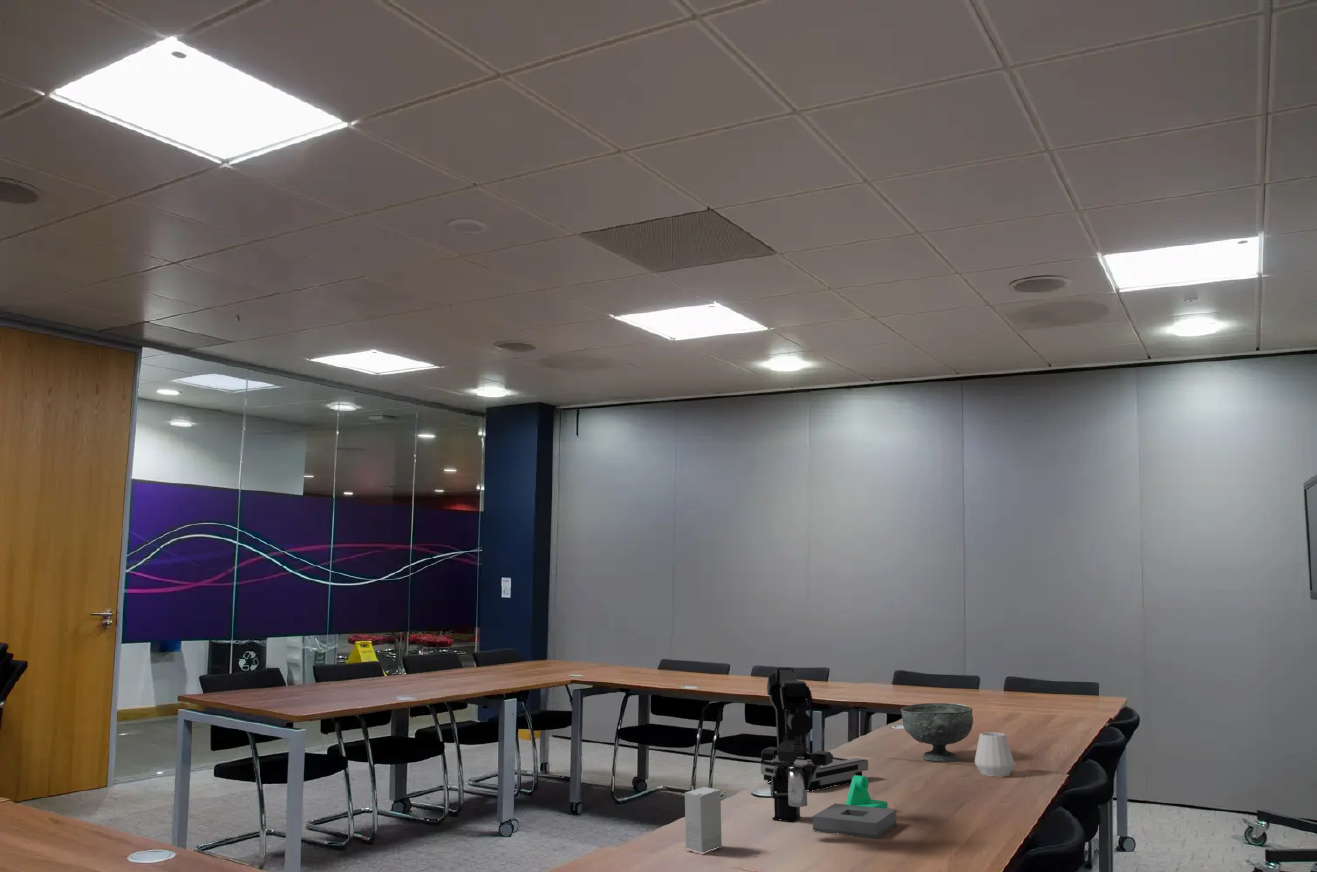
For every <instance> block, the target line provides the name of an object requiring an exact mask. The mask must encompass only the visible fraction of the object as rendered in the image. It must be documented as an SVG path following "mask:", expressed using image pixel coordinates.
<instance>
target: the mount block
mask: <svg viewBox="0 0 1317 872" xmlns="http://www.w3.org/2000/svg"><path fill="white" fill-rule="evenodd" d="M896 811H897V810H896V809H892V808H885V809H884V808H874V807H865V806H855V805H846V803H845V804H843V803H833V804H831V805H830V806H827V807H826V808H824V809H823V810H821V811H819V812H818V813H816V814H814V815H812V831H813V830H815V831H820V832H819V833H822V832H827V833H826V834H831V833H839V834H847V835H852V836H851V837H856V836H858V838H864V837H865V839H875V840H877V839H879V838H881V837H882V836H883V835H884V834H886V833H887V832H888V831H890V830H891V829H892V828H894V827H896V825H897V814H896ZM893 826H894V827H893ZM839 834H838V835H839ZM882 834H883V835H882ZM847 835H846V836H847ZM881 835H882V836H881Z"/></svg>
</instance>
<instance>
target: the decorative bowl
mask: <svg viewBox="0 0 1317 872" xmlns="http://www.w3.org/2000/svg"><path fill="white" fill-rule="evenodd" d="M900 711H901V719H902V722H903V723H902V724H903V725H902V726H903V728H904V730H905V732H906V733H907V734H908V735H910V737H912V738H913V739H914V740H915V741H917V742H919V743H920V744H922V743H923V744H927V745H931V746H932V750H930V751H926V752H923V754H922V758H923V760H924V759H925V761H931V762H932V761H933V762H942V763H943V762H944V763H951V762H952V761H953V762H957V761H958V758H959V757H958V756H957V755H956V754H955V753H953V752H951V751H948V750H947V748H946V747H947V745H951V744H956V743H959V742H961V741H962V740H965V738H967V737H968V736H969V734H970V733H971V731H972V728H973V724H974V717H973V707H969V706H966V705H962V704H956V703H949V702H948V703H947V702H946V703H945V702H926V703H925V702H923V703H918V704H917V703H916V704H910V705H906V706H903V707H901V708H900ZM956 760H957V761H956Z"/></svg>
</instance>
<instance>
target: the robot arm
mask: <svg viewBox="0 0 1317 872" xmlns="http://www.w3.org/2000/svg"><path fill="white" fill-rule="evenodd" d="M766 691H767V692H766V693H767V696H769V702H770V703H771V705H772V706H773V708H774V710H775V725H776V728H775V729H776V745H777V746H768V747H765V748H764V749H762V750H761V753H760V754H761V755H760V756H761V759H760V761H761V760H767V761H772V760H773V759H774V762H772V763H773V764H775V765H776V766H775V768H774V770H773V776H772V779H771V784H770V796H771V798H772V799H773V800H774V801H773V803H774V804H773V805H774V807H773V808H774V810H773V811H774V816H773V817H772V818H771V819H772V820H773V819H781V820H787V821H786V822H789V821H794V820H795V819H797V820H799V819H801V818H802V816H801V807H793V806H789V801H788V770H787V769H786V766H787V765H792V764H794V762H795V761H796V759H797V760H807V764H806V765H804V768H805V790H808V789H809V786H810V783H811V780H812V778H813V775H814V773H815V771H816V769H817V767H818V766H820V765H822V766H825V765H828V764H830V763H832V762H833V757H834V755H833V756H832V752H831V751H824V750H817V751H814V752H812V753H809V752H810V749H809V747H808V741H807V738H808V737H809V733H810V732H811V730H812V729H813V721H812V718H811V717H810V715H808V714H807V710H812V708H813V705H814V701H813V695H812V691H811V689H810V687H809V686H808V685H807V683H806V681H804V680H798V679H797V676H796V675H795V672H794V668H792V667H789V666H788V667H778V668H775V672H773V674H771V675H770V676H769V677H768V679H767V685H766ZM800 817H801V818H800ZM798 818H799V819H798ZM795 821H796V820H795ZM795 821H794V822H795Z"/></svg>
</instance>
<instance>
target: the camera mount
mask: <svg viewBox="0 0 1317 872" xmlns="http://www.w3.org/2000/svg"><path fill="white" fill-rule="evenodd" d="M848 789H849V790H848V793H847V797H846V802H845V804H846V805H855V806H865V807H874V808H884V809H889V807H888V801H885V800H878V799H872V798H871V796H870V793H869V791H868V789H869V779H868V777H867V776H863V775H862V776H857V775H855V776H853V778H852V781H851V783H850V786H849V788H848Z"/></svg>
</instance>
